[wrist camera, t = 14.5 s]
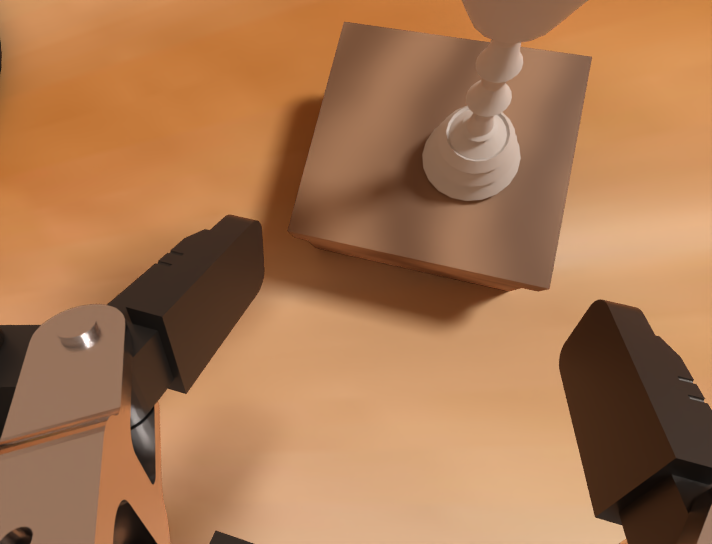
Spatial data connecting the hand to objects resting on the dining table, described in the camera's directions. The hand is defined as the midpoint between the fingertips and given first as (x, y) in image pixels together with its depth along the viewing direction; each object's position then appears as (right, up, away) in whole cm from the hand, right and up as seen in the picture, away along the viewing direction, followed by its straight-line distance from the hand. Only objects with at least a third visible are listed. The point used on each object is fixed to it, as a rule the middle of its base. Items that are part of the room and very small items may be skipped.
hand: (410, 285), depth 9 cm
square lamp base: (+4, +7, +16) cm, 18 cm away
